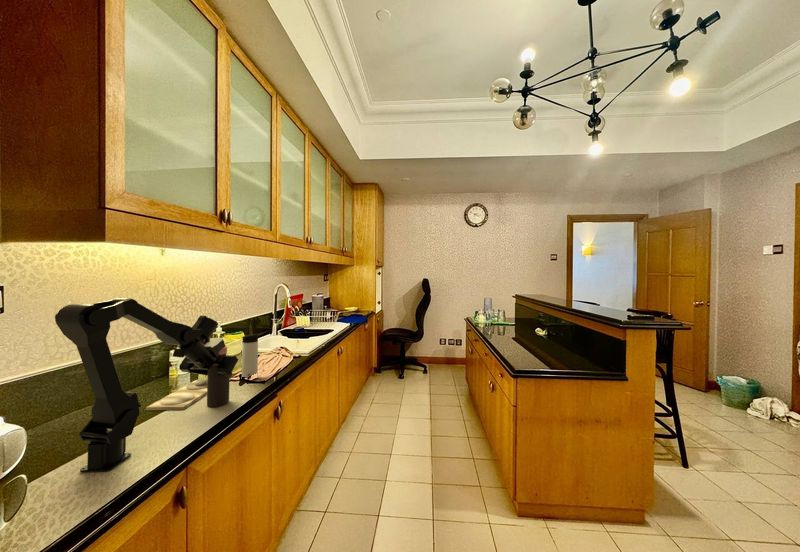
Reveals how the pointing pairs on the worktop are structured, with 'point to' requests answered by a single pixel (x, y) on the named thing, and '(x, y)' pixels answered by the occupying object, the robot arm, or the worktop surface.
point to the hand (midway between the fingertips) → (221, 375)
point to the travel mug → (249, 355)
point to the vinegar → (217, 385)
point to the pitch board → (182, 397)
